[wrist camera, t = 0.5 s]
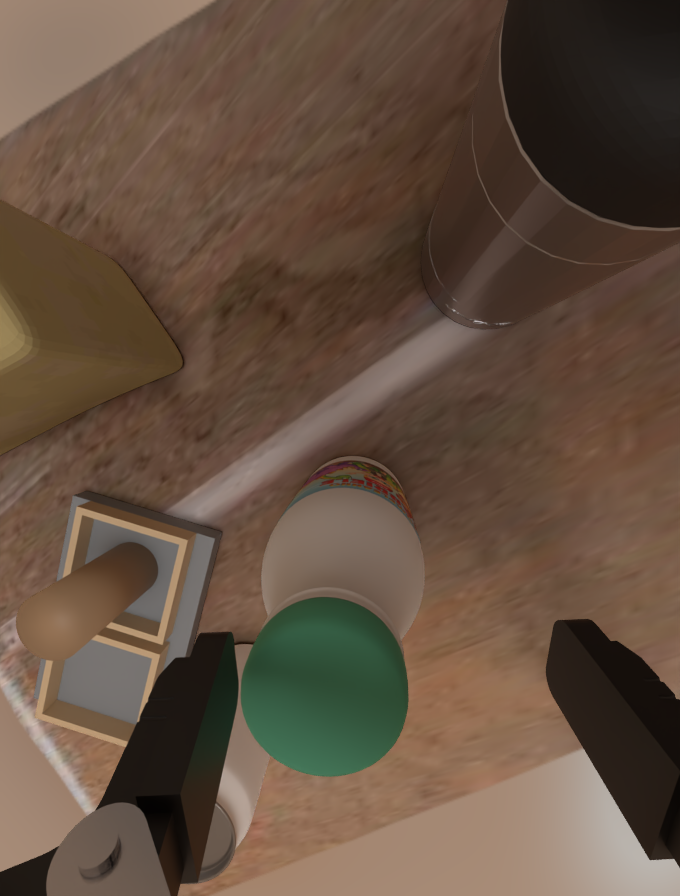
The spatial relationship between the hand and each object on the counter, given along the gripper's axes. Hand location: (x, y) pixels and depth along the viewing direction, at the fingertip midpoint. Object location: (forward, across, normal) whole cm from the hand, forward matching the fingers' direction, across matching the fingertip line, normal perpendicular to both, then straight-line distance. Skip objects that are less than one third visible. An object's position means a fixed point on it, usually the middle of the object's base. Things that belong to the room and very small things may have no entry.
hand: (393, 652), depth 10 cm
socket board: (+20, +18, +14) cm, 30 cm away
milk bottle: (+20, 0, +6) cm, 20 cm away
